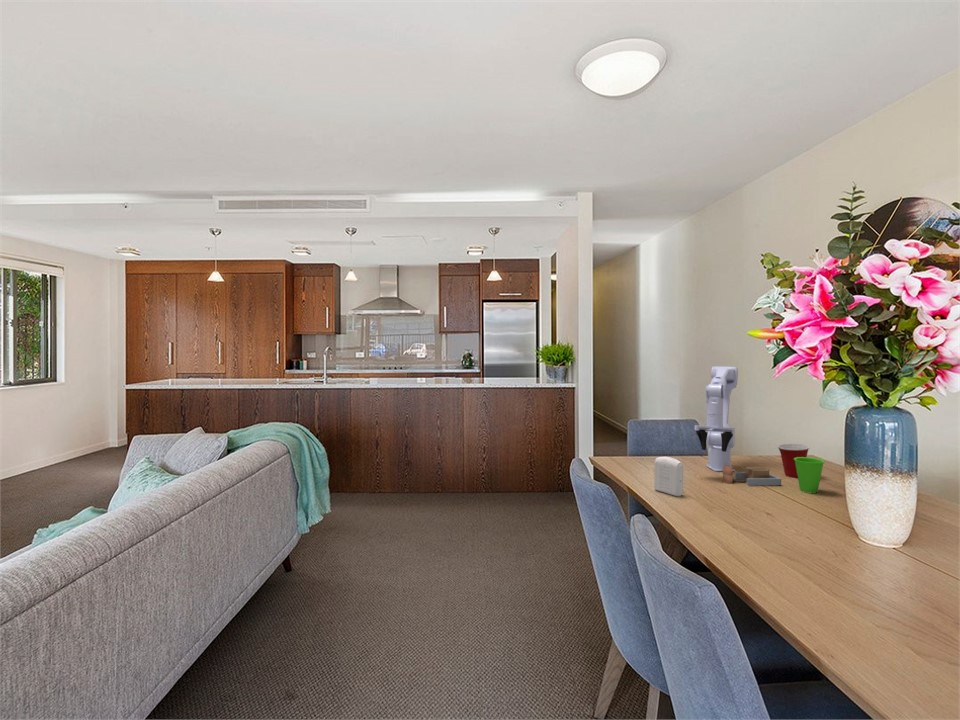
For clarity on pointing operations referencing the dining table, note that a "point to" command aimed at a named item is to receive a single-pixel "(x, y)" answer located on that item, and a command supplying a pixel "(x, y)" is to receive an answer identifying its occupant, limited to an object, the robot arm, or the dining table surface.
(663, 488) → the photo printer
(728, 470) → the tethered block
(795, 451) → the plastic cup
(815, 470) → the cup
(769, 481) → the grey u-shaped bracket
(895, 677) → the dining table surface
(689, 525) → the dining table surface
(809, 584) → the dining table surface
